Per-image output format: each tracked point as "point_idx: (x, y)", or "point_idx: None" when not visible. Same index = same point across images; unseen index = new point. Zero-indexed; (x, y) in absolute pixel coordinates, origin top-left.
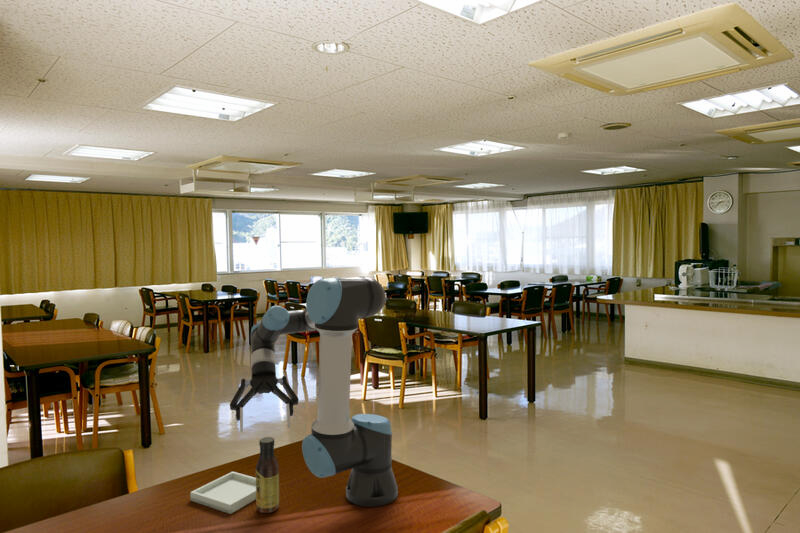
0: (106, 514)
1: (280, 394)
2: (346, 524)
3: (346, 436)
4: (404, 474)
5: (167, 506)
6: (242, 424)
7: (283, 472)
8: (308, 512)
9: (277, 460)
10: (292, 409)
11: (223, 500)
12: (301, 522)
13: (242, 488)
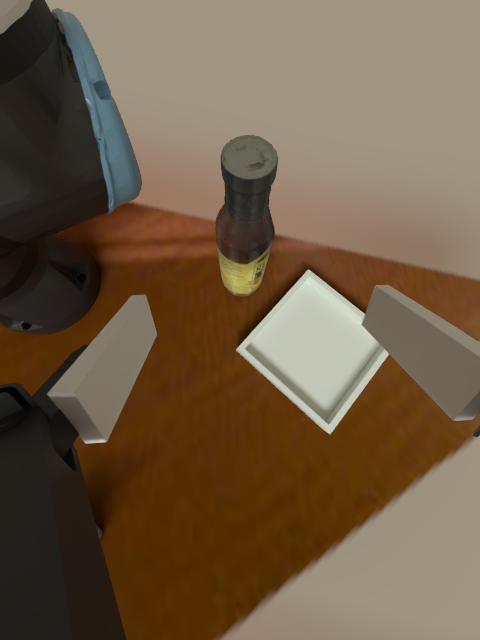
0: None
1: (53, 564)
2: (123, 205)
3: None
4: None
5: None
6: (387, 292)
7: (208, 441)
8: (174, 252)
9: (217, 219)
10: (63, 367)
11: (324, 313)
12: (189, 225)
13: (294, 357)
